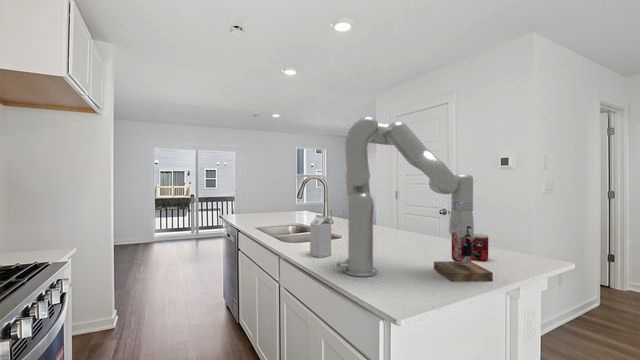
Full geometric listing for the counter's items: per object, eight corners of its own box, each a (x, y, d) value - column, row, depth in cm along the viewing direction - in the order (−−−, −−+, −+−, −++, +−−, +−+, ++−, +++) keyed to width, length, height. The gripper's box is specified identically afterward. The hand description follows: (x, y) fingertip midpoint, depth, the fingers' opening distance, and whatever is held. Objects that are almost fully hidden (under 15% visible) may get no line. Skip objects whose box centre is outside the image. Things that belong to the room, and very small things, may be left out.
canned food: (464, 257, 143) (465, 234, 143) (478, 256, 145) (478, 233, 145) (477, 262, 135) (478, 237, 135) (492, 260, 138) (492, 236, 138)
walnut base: (452, 281, 110) (452, 273, 110) (433, 268, 125) (434, 261, 125) (492, 280, 111) (492, 272, 111) (469, 268, 126) (469, 261, 126)
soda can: (474, 264, 114) (474, 232, 114) (453, 263, 115) (454, 231, 115) (468, 259, 121) (469, 229, 121) (449, 258, 122) (450, 228, 122)
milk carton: (321, 252, 151) (321, 214, 151) (331, 255, 146) (331, 215, 145) (310, 255, 146) (310, 215, 146) (319, 258, 141) (319, 216, 141)
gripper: (442, 204, 126) (441, 248, 126) (464, 209, 109) (464, 259, 109) (459, 204, 127) (459, 248, 127) (485, 209, 109) (484, 259, 110)
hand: (461, 253), depth 118 cm, fingers closed on soda can, 7 cm apart
